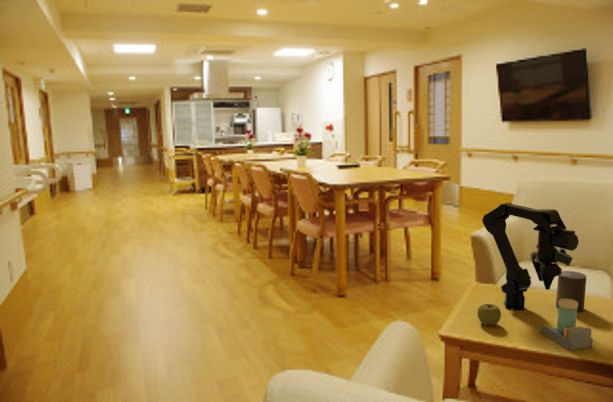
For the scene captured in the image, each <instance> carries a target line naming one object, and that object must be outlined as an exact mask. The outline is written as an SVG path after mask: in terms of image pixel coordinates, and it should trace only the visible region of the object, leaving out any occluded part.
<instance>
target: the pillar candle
mask: <svg viewBox="0 0 613 402" xmlns="http://www.w3.org/2000/svg"><path fill="white" fill-rule="evenodd" d="M586 287H587V275H586V274H584V273H582V272H580V271H575V270H574V271H573V270H562V274H561V275H559V276H557V288H556V297H555V298H556V299H555V307H556V308H557V309H558V308H559V306H558V301H559V299H572V300H575V301H577V302H578V308H577V314H579V313H581V312H584V310H585V300H586V299H585V298H586V297H585V296H586Z"/></svg>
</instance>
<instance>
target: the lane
mask: <svg viewBox="0 0 613 402" xmlns="http://www.w3.org/2000/svg"><path fill="white" fill-rule="evenodd" d="M539 330H540V333H541V334H543V335H544V336H545V337H547V338H549V339H551V340H552V341H554V342H555V343H557V345H558V344H559V346H561V347H562V348H564V349H565V350H567V351H569V352H570V351H577V350H584V349H585V350H586V349H592V348H593V341H594V339H593V338H592V328H590V327H587V326H586V327H584V328H579V329H571V330H569V339H566V338H565V337H563V336H562V335H560V334H559V333H557V328H551V327H549V326H547V325H546V324H544V323H540V329H539Z"/></svg>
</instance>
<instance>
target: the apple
mask: <svg viewBox="0 0 613 402" xmlns="http://www.w3.org/2000/svg"><path fill="white" fill-rule="evenodd" d="M477 317H478V320H479V322H480V323H481V324H482V325H485V326H489V327H490V326H496V325H498V323H499V322H500V320H501V317H502V313H501V310H500V308H499V306H497V305H495V304H492V303H483V304H481V305H479V307H478V309H477Z"/></svg>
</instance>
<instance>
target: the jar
mask: <svg viewBox="0 0 613 402" xmlns="http://www.w3.org/2000/svg"><path fill="white" fill-rule="evenodd" d="M558 306H559V308H557V310H558V311H557V322H556V324H557V325H556V329H557V333H559V334H560V335H562V336H563V337H564V328H571V327H577V317H578V316H577V315H578V312H577V308H578V302H577V301H575V300H572V299H559V301H558Z"/></svg>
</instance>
